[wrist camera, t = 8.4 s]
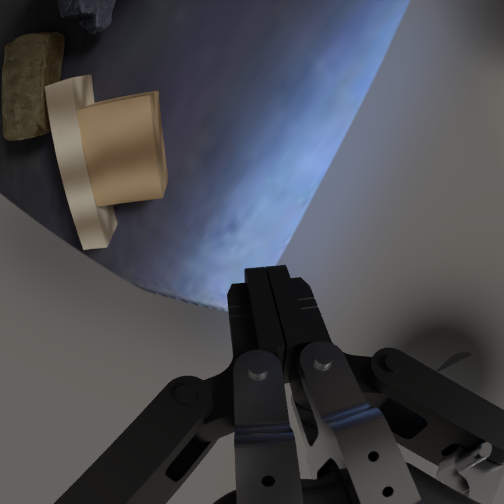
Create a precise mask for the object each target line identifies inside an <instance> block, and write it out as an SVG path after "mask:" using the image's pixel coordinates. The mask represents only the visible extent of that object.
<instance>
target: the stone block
mask: <svg viewBox="0 0 504 504" xmlns="http://www.w3.org/2000/svg"><path fill="white" fill-rule="evenodd" d="M64 46H65V36H64V35H62V34H61V33H58V32H40V33H31V34H26V35H23V36H20V37H18V38H16V39H15V40H14V41H12V42H10V43H9V44H6V46H5V57H4V64H3V68H2V119H3V136H4V138H5V139H7V140H8V141H14V140H22V139H29V138H34V137H36V136H40V135H44V134H47V133H49V132H51V126H50V120H49V114H48V108H47V100H46V93H45V86H48V85H51V84H54V83H57V82H60V77H61V67H62V61H63V56H64Z"/></svg>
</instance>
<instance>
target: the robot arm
mask: <svg viewBox="0 0 504 504" xmlns="http://www.w3.org/2000/svg"><path fill="white" fill-rule="evenodd" d="M227 299H228V310H229V321H230V331H231V340H232V349H233V359H232V362H231V364H230V365H229V367H228V368H227V369H226V370H225V371H223V372H222V373H220V374H218V375H216V376H214V377H211V378H208V379H206V380H202V379H200V378H198V377H194V376H181V377H178V378H176V379H173V380H172V381H170V382H169V383H168V384H167V385H166V387H165V388H164V389H163V390H162V391H161V392H160V393H159V394H158V395H157V396H156V398H155V399H154V400H153V401H152V402H151V403H150V404H149V405H148V406H147V407H146V408H145V409H144V410H143V412H142V413H141V414H140V415H139V416H138V417H137V418H136V419H135V420H134V421H133V422H132V423H131V424H130V425H129V426H128V428H127V429H126V430H125V431H124V432H123V433H122V434H121V435H120V436H119V437H118V438H117V439H116V440H115V441H114V442H113V444H111V446H110V447H109V448H108V449H107V450H106V451H105V452H104V453H103V454H102V455H101V456H100V457H99V458H98V459H97V460H96V461H95V462H94V463H93V464H92V465H91V467H89V468H88V469H87V470H86V471H85V472H84V473H83V475H82V476H81V477H80V478H79V479H78V480H77V481H76V482H75V483H74V484H73V485H72V486H71V487H70V488H69V489H68V490H67V491H66V492H65V493H64V494H63V495H62V496H61V497H60V498H59V499H58V500H57V501H56V502H55V503H54V504H166V503H167V502H168V500H169V499H170V498H171V497H172V496H173V494H174V493H175V492H176V491H177V490H178V489H179V488H180V486H181V485H182V484H183V483H184V482H185V480H186V479H187V478H188V477H189V476H190V474H191V473H192V472H193V471H194V469H195V468H196V467H197V466H198V464H199V463H200V462H201V461H202V460H203V458H204V457H205V456H206V454H207V453H208V452H209V451H210V449H211V448H212V447H213V445H214V444H215V443H216V441H217V440H218V439H219V438H221V437H223V436H226V435H228V434H230V433H233V432H235V434H234V447H235V472H236V490H234V491H232V492H230V493H228V494H226V495H224V496H223V497H221V498H220V499H218V500H217V501H216V502H214V503H213V504H491V502H492V500H493V498H494V495H495V493H496V490H497V488H498V486H499V483H500V480H501V478H502V475H503V473H504V410H503V409H501V408H499V407H497V406H496V405H494V404H492V403H490V402H489V401H487V400H485V399H483V398H481V397H480V396H478V395H476V394H474V393H473V392H471V391H469V390H468V389H466V388H464V387H462V386H460V385H459V384H457V383H455V382H453V381H452V380H450V379H448V378H447V377H445V376H443V375H441V374H440V373H438V372H436V371H435V370H433V369H431V368H429V367H428V366H426V365H424V364H422V363H421V362H419V361H417V360H416V359H414V358H412V357H410V356H409V355H407V354H405V353H403V352H402V351H400V350H398V349H395V348H383V349H380V350H378V351H377V352H376V353H375V354H374V356H373V357H366V356H355V355H350V354H346V353H344V352H342V351H341V349H340V348H339V347H337V346H336V345H334V344H333V343H332V341H331V339H330V337H329V334H328V331H327V329H326V326H325V324H324V321H323V318H322V316H321V313H320V311H319V308H318V307H317V303H316V301H315V299H314V296H313V293H312V290H311V288H310V286H309V285H308V284H307V283H306V282H305V281H304V280H303V279H302V278H301V277H299V278H290V275H289V272H288V270H287V267H286V265H280V266H268V267H257V268H246V269H245V283H237V284H232V285H231V287H230V289H229V291H228V294H227ZM285 383H290V386H291V390H292V396H291V403H292V407H293V410H294V413H295V416H296V419H297V422H298V425H299V428H300V431H301V434H302V437H303V440H304V443H305V447H306V451H307V463H308V467H309V470H310V473H311V476H312V479H300V472H299V465H298V457H297V451H296V450H297V449H296V443H295V437H294V433H293V430H292V429H291V427H290V423H289V416H288V409H287V401H286V394H285V387H284V384H285ZM396 442H397V443H398V444H400V445H402V446H404V447H405V448H407V449H409V450H411V451H412V452H414V453H416V454H417V455H419V456H421V457H423V458H425V459H426V460H428V461H430V462H432V463H434V464H436V465H438V466H439V467H438V471H437V474H436V476H437V479H438V480H440V481H443V482H444V483H445V484H446V485H445V484H443V483H442V482H440V481H438V480H437V479H435V478H433V477H431V476H430V475H428V474H426V473H425V472H423V471H421V470H420V469H418V468H416V467H414V466H413V465H411V464H409V463H407V462H405V460H404V458H403V456H402V454H401V451H400V449H399V447H398V445H397V443H396Z"/></svg>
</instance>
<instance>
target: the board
mask: <svg viewBox="0 0 504 504" xmlns="http://www.w3.org/2000/svg"><path fill="white" fill-rule="evenodd" d="M45 93H46V100H47V108H48V114H49V120H50V126H51V132H52V137H53V142H54V147H55V152H56V156H57V161H58V165H59V169H60V174H61V178H62V181H63V185H64V189H65V193H66V196H67V200H68V203H69V207H70V210H71V214H72V217H73V220H74V223H75V226H76V229H77V232H78V235H79V238H80V241H81V244H82V247H83V250H86V249H96V248H106V247H107V246H108V244H109V242H110V240H111V237H112V235H113V233H114V231H115V228H116V226H117V224H118V223H117V219H116V215H115V211H114V207H113V205H106V206H99V207H97V204H96V200H95V197H94V193H93V189H92V185H91V180H90V176H89V172H88V167H87V163H86V158H85V153H84V148H83V143H82V137H81V132H80V126H79V120H78V113H77V110H79V109H82V108H84V107H86V106H88V105H91V104H93V103H94V96H93V87H92V76H91V74H90V75H84V76H79V77H73V78H69V79H66V80H63V81H60V82H57V83H54V84H51V85H48V86H45Z"/></svg>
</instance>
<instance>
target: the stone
mask: <svg viewBox="0 0 504 504" xmlns="http://www.w3.org/2000/svg"><path fill="white" fill-rule="evenodd" d="M115 3H116V0H58V7H59V11H60V15H61V18H71V19H74V20H75V19H77V20H78V22H79V24H80V25H81V26H82V27H83V28H84V29H86V30H87V31H88V32H89V34H93V35H95V34H96V33H98V32H101V31H103V30H104V29H105V28H106V27H109V25H110V24H111V22H112V11H113V8H114V5H115Z"/></svg>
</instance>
